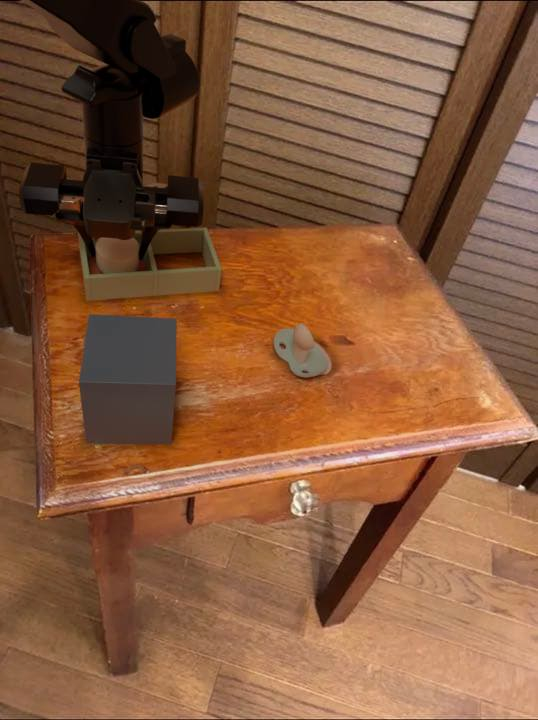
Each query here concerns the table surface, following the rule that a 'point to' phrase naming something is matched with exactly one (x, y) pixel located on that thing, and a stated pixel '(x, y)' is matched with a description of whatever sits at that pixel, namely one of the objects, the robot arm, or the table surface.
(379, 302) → the table surface
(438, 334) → the table surface
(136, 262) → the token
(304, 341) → the pacifier
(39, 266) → the table surface
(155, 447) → the table surface
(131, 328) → the stand
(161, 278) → the olive green divided tray
